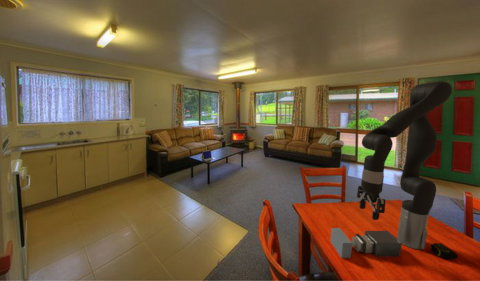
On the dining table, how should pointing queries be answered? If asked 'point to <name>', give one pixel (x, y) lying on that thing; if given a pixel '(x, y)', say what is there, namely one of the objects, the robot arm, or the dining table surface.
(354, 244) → the light grey square bar
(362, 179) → the robot arm
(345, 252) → the grey block
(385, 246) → the sleeve
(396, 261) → the dining table surface
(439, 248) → the tape measure
